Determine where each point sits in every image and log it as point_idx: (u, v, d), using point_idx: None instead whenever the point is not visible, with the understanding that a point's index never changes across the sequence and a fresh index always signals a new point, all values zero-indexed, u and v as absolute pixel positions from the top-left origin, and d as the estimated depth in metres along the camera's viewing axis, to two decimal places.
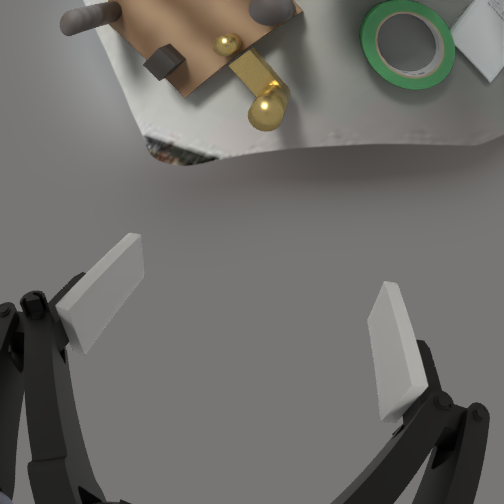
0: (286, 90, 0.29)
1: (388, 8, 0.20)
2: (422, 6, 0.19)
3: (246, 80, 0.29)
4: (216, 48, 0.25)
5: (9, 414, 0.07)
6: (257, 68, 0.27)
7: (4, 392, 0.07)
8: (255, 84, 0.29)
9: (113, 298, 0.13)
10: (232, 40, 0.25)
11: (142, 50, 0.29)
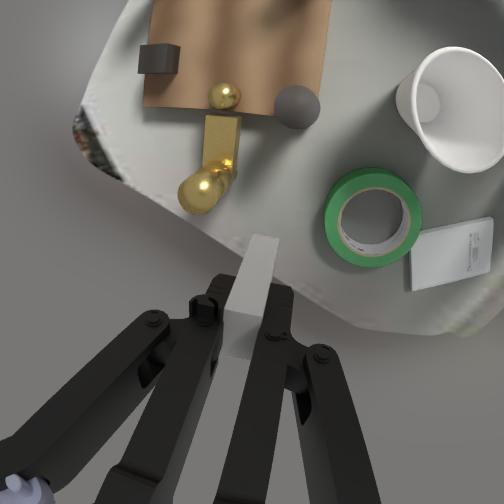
0: (233, 179, 0.29)
1: (387, 182, 0.28)
2: (416, 201, 0.28)
3: (208, 141, 0.27)
4: (212, 91, 0.23)
5: (105, 426, 0.08)
6: (227, 140, 0.26)
7: (111, 406, 0.08)
8: (212, 152, 0.27)
9: None
10: (232, 97, 0.23)
11: (153, 30, 0.23)
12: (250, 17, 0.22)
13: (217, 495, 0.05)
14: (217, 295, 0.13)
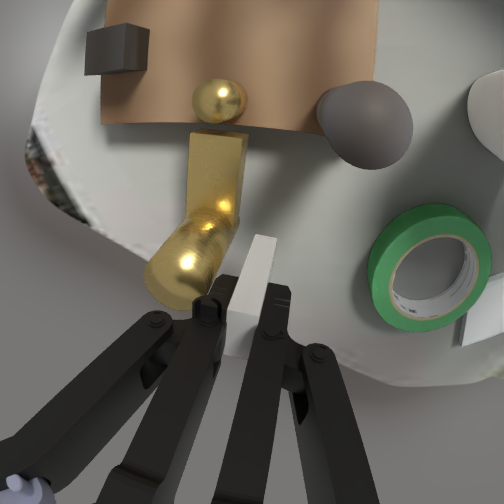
0: (234, 234, 0.19)
1: (458, 226, 0.18)
2: (488, 250, 0.18)
3: (194, 176, 0.17)
4: (200, 94, 0.14)
5: (107, 426, 0.08)
6: (225, 174, 0.17)
7: (113, 406, 0.08)
8: (200, 193, 0.17)
9: None
10: (235, 104, 0.14)
11: (111, 11, 0.14)
12: None
13: (215, 495, 0.05)
14: (220, 296, 0.13)
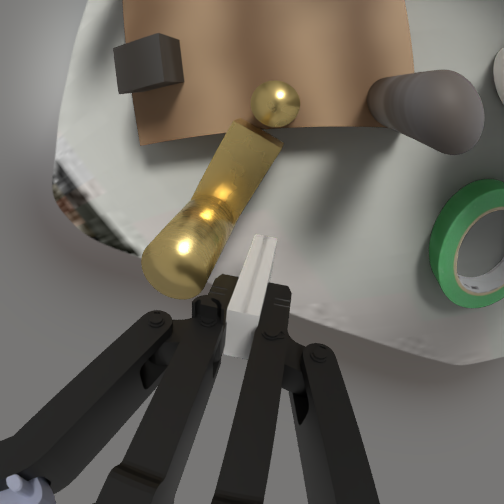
0: None
1: None
2: None
3: (218, 163, 0.16)
4: (264, 90, 0.13)
5: (107, 426, 0.08)
6: (249, 174, 0.16)
7: (113, 406, 0.08)
8: (217, 181, 0.17)
9: None
10: (294, 116, 0.13)
11: (131, 26, 0.14)
12: None
13: (215, 495, 0.05)
14: (220, 296, 0.13)
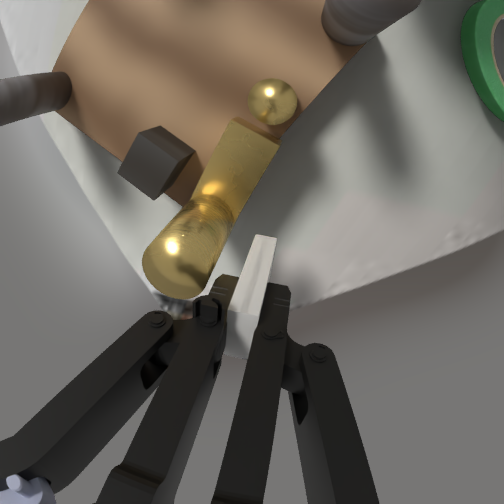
0: None
1: (492, 9, 0.09)
2: None
3: (216, 162, 0.16)
4: (261, 88, 0.13)
5: (107, 426, 0.08)
6: (248, 173, 0.16)
7: (114, 407, 0.08)
8: (216, 180, 0.17)
9: None
10: (291, 114, 0.13)
11: (115, 148, 0.19)
12: (179, 16, 0.14)
13: (215, 495, 0.05)
14: (220, 296, 0.13)
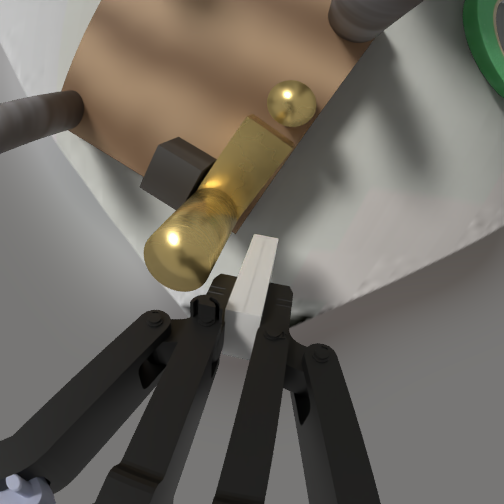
0: None
1: None
2: None
3: (227, 157, 0.16)
4: (282, 89, 0.13)
5: (106, 426, 0.08)
6: (258, 171, 0.16)
7: (112, 406, 0.08)
8: (224, 175, 0.17)
9: None
10: (309, 118, 0.13)
11: (134, 163, 0.20)
12: (186, 26, 0.14)
13: (216, 495, 0.05)
14: (218, 295, 0.13)
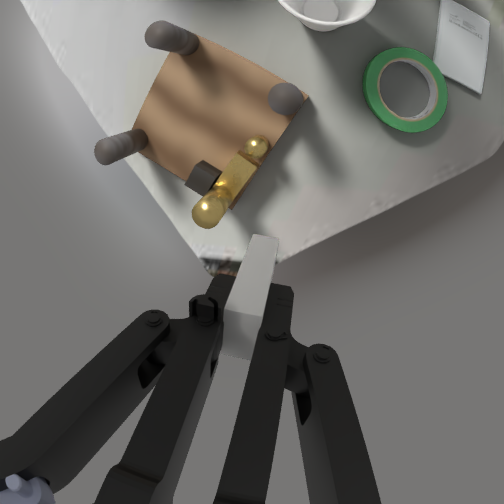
0: None
1: (378, 63, 0.28)
2: (403, 48, 0.26)
3: (227, 171, 0.35)
4: (251, 142, 0.32)
5: (105, 426, 0.08)
6: (241, 178, 0.35)
7: (111, 406, 0.08)
8: (226, 180, 0.36)
9: None
10: (262, 154, 0.33)
11: (178, 172, 0.39)
12: (206, 102, 0.34)
13: (217, 495, 0.05)
14: (217, 295, 0.13)
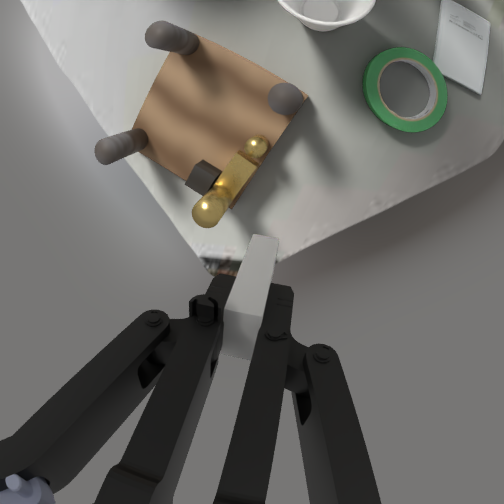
0: None
1: (378, 63, 0.28)
2: (403, 49, 0.26)
3: (227, 171, 0.35)
4: (250, 141, 0.32)
5: (105, 426, 0.08)
6: (241, 177, 0.36)
7: (111, 406, 0.08)
8: (226, 179, 0.36)
9: None
10: (262, 154, 0.33)
11: (178, 171, 0.39)
12: (206, 102, 0.34)
13: (217, 495, 0.05)
14: (217, 295, 0.13)
